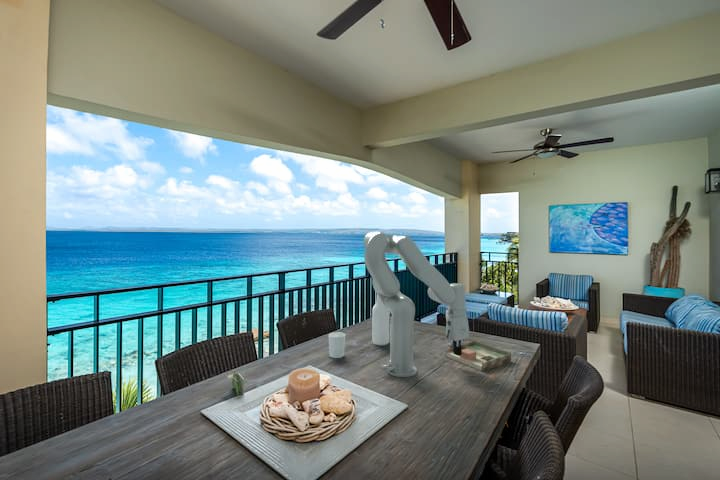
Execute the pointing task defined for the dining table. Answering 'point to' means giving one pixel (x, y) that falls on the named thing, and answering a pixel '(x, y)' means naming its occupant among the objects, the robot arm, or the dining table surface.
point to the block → (468, 354)
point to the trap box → (482, 356)
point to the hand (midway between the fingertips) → (457, 354)
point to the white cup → (336, 344)
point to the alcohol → (380, 323)
